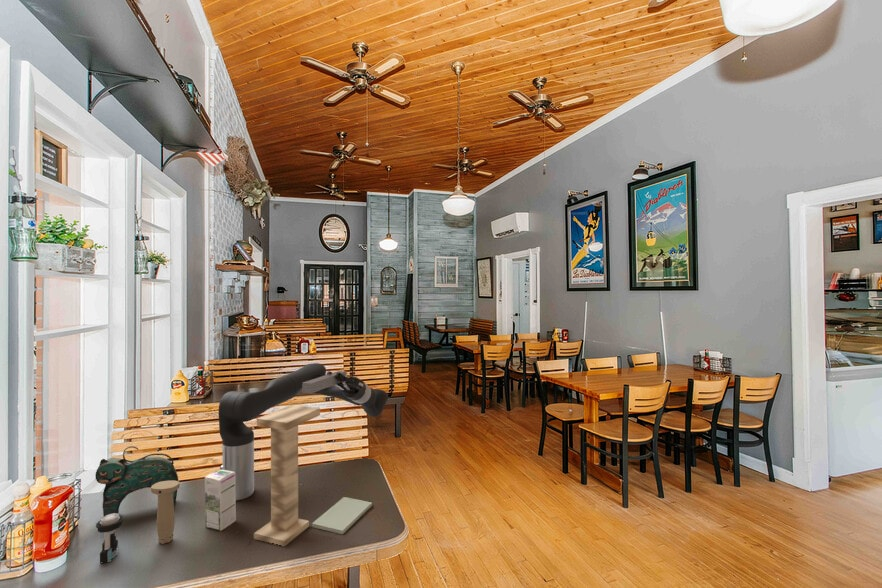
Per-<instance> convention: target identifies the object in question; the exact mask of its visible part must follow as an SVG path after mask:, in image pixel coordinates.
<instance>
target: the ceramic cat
mask: <svg viewBox="0 0 882 588" xmlns="http://www.w3.org/2000/svg"><path fill="white" fill-rule="evenodd" d="M129 448H130V449H131V448H133V449H135V450H139V448H138V447H137V446H135V445H134V446H133V445H131V446H130V445H129V446H127V447H126V448H124V450H123V452H122V458H119V457H111V458H107V459H105V458H102V459H101V460H100V462H99V464H98V465H99V466H98V467H97V469H96V472H95V473H94V474H95V480H96V482H97V483H99V484H100V485H104V489H103V492H102V514H103V517H104V516H106V515H109V514H113V513H117V514H119V513H120V512H119V511H120V510H119V509H120V505H121V503H122V502H123V501H124V500H125V498H126V497H127V496H129V494H131V493H134V492H136V491H140V490H143V489H147V488H150V489H151V486H152V485H154V484H155V483H158V482H162V481H171V480H174V481H179V476H178V472H177V470H176V468H175V466H174V464H175V463H174V460H173V458H172V457H171V456H170V455H169V454H166V453H150V454H148V455H144V456H143V457H140V458H138V459H134V460H130V459H129V460H128V459H126V457H125V451H126V450H127V449H129ZM162 456H165V457H167V458H165V457H162ZM169 459H170V460H169ZM177 494H178V489H177V490H176V491H174V492H173V504H174V505H176V502H177Z"/></svg>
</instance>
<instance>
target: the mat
mask: <svg viewBox="0 0 882 588" xmlns="http://www.w3.org/2000/svg"><path fill="white" fill-rule="evenodd" d="M372 506H373V502H369V501H366V500H361V499H357V498H351V497H345V496H343V497H342V498H341V499H340V500H339V501H336V503H334V505H332V506H331V507H330V508H328V510H326V511H325V512H324V513H323V514H321V515H320V516H319V517H318V518H317V519H316V520H314V521H313V522H312V523H311V527H312V528H314V529H319V530H323V531H328V532H331V533H335V534H339V535H344V533H346V532H347V531H348V530H349V529H350V528H351V527H352V526H353V525H354V524H355V523H356V522H357V521H358V520H359V519H360V518H361V517H362V516H363V515H364V514H366V512H367V511H368V510H369V509H370V508H371V507H372Z"/></svg>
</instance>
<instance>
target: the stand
mask: <svg viewBox="0 0 882 588" xmlns="http://www.w3.org/2000/svg"><path fill="white" fill-rule="evenodd" d="M319 416H321V408H319V407H311V406H305V405H304V406H303V405H295V404H291V405H288V406H286V407H282V408H280V409H278V410H276V411H273V412H272V411H271V412H270V413H267V414H265V415H262V416H258V417H256V427H262V428H267V429H270V521H269V522H267V523H265V525H263V526H262V527H260V528H259V529H258V530H256V531H255V532H253V539H254V540H258V541H261V542H266V543H268V542H269V544H272V543H274V544H273V545H276V544H278V545H277V546H279V545H281V547H283V548H284V547H286V546H287V545H288V544H290V543H291V542H292V541H293V540H294V539H296V538H297V537H298V536H300V534H302V533H303V532H304V531H305V530H306V529H308V528H309V527H310V521H309V520H307V519H304V518H303V519H302V518H299V426H300V425H301V424H303V423H306V422H308V421H310V420H312V419H316V418H318V417H319Z"/></svg>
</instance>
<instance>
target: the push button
mask: <svg viewBox="0 0 882 588" xmlns="http://www.w3.org/2000/svg"><path fill="white" fill-rule="evenodd" d="M123 521H124V516H123V515H120V514H119V513H118V514H117V513H113V514H109V515H106V516H104V517H102V518H101V519H100V520H98V522H96V523H95V527H96V528H97V532H98V533H99V534H100V533H101V534H104V540H103V543H102V544H101V545H102V547H101V549H102V550H101V551H100V553H99V563H100V564H102V563H101V562H105V563H109V562H108V561H110V560H111V559H112V558H113V559H114V558H115V556H116V557H117V556H118V555H119V540H118V539H117V535H116V530H118V529H119V528H120V527H121V526H122V524H123ZM115 554H116V555H115ZM114 555H115V556H114ZM113 559H112V560H113ZM112 560H111V561H112Z"/></svg>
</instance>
